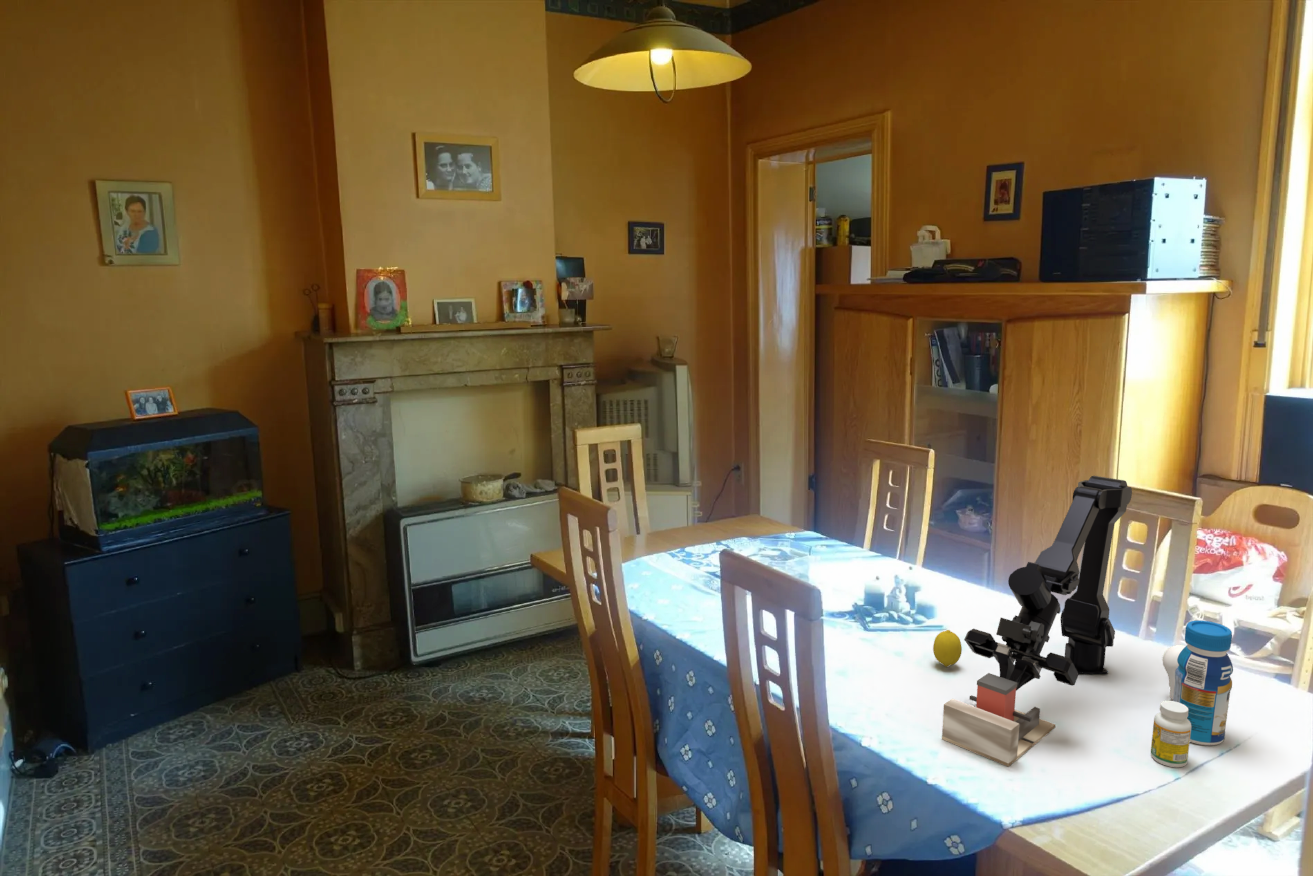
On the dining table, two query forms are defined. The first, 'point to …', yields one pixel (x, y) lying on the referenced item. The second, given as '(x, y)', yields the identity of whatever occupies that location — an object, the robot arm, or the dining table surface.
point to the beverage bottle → (1205, 680)
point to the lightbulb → (1172, 664)
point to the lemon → (947, 648)
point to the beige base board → (992, 731)
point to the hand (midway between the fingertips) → (1001, 698)
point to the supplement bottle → (1171, 734)
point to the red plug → (997, 697)
